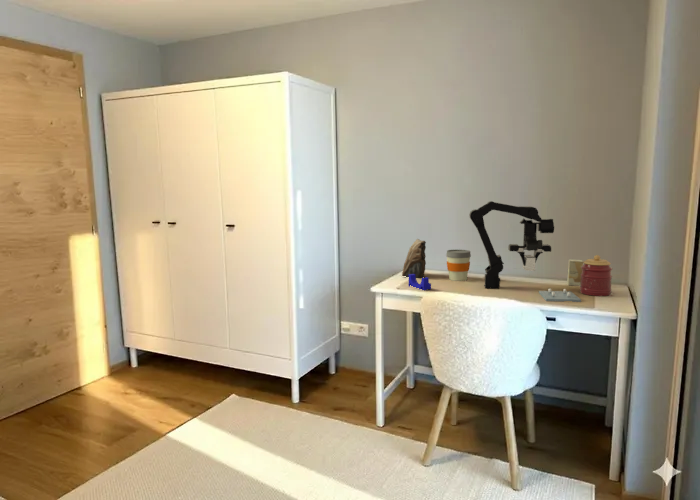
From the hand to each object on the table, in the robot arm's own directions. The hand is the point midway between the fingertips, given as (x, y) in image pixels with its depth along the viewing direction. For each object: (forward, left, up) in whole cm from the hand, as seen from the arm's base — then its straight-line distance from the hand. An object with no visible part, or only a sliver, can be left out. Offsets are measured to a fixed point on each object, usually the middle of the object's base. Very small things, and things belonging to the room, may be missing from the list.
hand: (528, 265), depth 243 cm
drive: (0, 0, -2) cm, 2 cm away
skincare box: (+24, +11, -11) cm, 29 cm away
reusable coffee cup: (-32, +19, -11) cm, 39 cm away
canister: (+28, -8, -11) cm, 31 cm away
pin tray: (+10, -18, -11) cm, 23 cm away
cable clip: (-52, -4, -11) cm, 53 cm away
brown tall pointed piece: (-56, +24, -11) cm, 62 cm away
